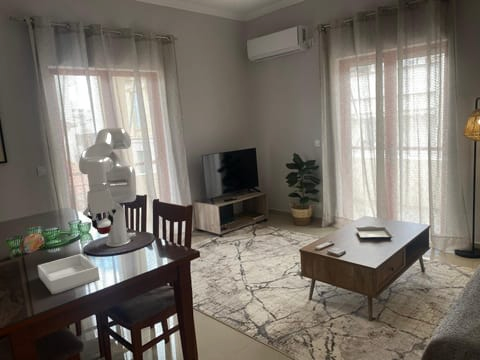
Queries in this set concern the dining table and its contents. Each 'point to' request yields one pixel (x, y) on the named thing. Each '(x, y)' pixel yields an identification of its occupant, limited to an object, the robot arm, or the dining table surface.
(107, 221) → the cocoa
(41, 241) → the tin
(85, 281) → the box
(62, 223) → the dining table surface
